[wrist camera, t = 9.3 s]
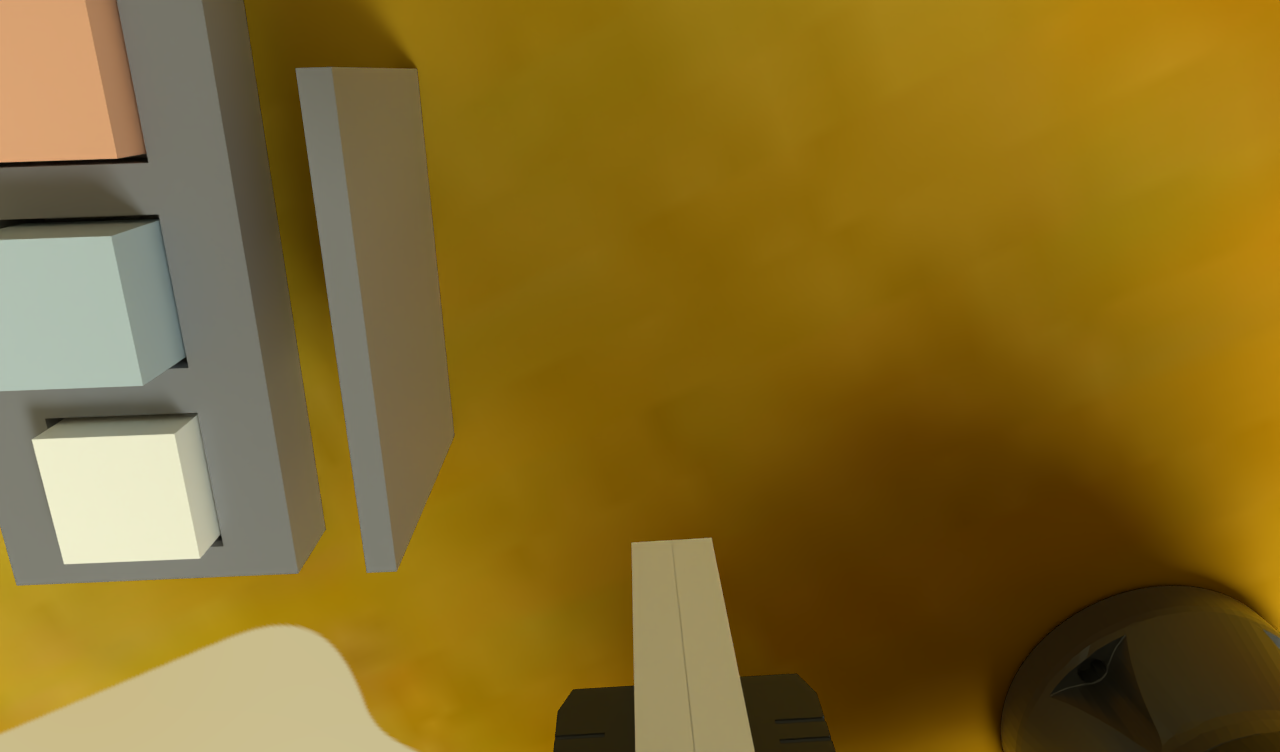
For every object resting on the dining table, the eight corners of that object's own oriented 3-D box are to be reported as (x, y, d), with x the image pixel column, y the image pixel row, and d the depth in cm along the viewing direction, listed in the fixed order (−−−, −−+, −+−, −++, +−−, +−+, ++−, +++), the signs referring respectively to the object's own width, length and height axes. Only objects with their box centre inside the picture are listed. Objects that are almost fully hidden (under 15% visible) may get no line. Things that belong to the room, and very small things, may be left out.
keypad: (463, 523, 43) (411, 684, 32) (69, 540, 43) (-126, 708, 32) (404, -54, 35) (308, -114, 24) (-80, -41, 35) (-411, -94, 24)
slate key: (190, 353, 37) (143, 385, 33) (53, 358, 37) (-10, 391, 33) (164, 218, 35) (110, 235, 32) (21, 223, 35) (-50, 241, 32)
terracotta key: (169, 149, 36) (117, 158, 32) (28, 153, 36) (-41, 163, 32) (140, -1, 34) (82, -10, 31) (-8, 4, 34) (-84, -5, 30)
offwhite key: (237, 513, 41) (200, 558, 37) (114, 518, 41) (64, 564, 37) (216, 399, 39) (174, 433, 36) (87, 404, 39) (31, 439, 35)
